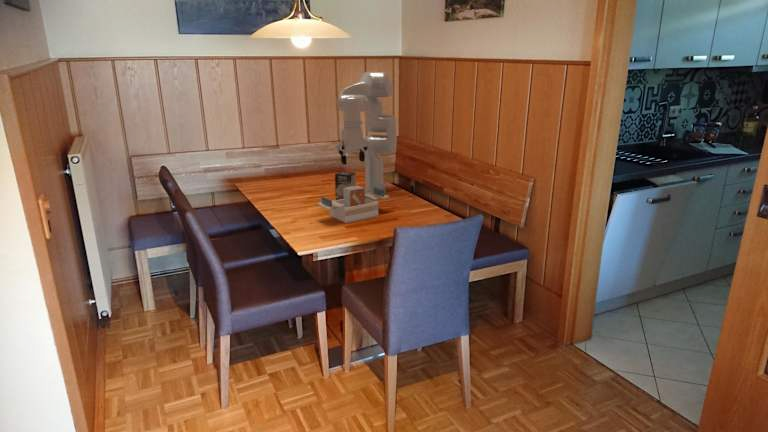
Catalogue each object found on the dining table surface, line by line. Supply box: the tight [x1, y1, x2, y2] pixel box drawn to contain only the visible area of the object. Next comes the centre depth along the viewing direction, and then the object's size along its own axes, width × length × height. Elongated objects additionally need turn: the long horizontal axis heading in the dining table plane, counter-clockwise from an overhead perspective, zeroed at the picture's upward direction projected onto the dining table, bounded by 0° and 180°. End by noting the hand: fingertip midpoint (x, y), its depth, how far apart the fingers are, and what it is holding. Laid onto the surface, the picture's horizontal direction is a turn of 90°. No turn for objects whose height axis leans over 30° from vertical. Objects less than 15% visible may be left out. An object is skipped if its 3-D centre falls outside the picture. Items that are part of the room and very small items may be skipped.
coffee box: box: [334, 171, 357, 201], centre depth 259 cm, size 9×6×16 cm
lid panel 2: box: [365, 187, 391, 201], centre depth 245 cm, size 9×11×4 cm
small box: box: [343, 185, 366, 208], centre depth 239 cm, size 8×6×13 cm
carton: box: [329, 197, 379, 224], centre depth 240 cm, size 18×14×7 cm
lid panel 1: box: [315, 196, 345, 211], centre depth 231 cm, size 9×11×4 cm
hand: (353, 162), depth 234 cm, fingers open, 9 cm apart
